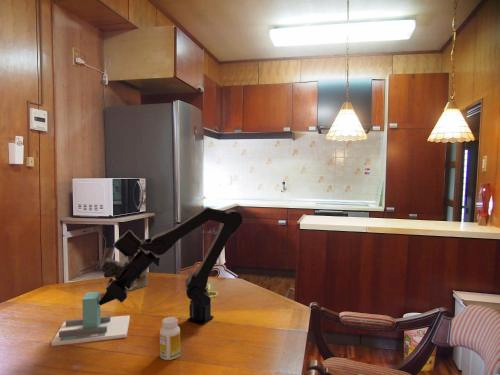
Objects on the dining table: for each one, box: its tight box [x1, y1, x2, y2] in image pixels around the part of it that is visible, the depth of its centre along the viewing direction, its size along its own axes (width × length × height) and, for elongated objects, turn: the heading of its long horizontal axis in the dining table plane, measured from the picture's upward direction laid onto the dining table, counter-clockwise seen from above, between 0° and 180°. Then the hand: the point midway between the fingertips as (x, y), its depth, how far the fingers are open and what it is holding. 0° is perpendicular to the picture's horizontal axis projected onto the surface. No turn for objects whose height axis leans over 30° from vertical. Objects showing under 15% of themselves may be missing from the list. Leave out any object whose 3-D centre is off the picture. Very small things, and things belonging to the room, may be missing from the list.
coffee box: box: [121, 250, 149, 291], centre depth 148 cm, size 9×6×16 cm
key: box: [206, 283, 219, 299], centre depth 141 cm, size 7×12×2 cm, turn 25°
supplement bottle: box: [159, 316, 181, 361], centre depth 93 cm, size 5×5×10 cm
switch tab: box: [82, 291, 102, 328], centre depth 106 cm, size 4×6×10 cm, turn 15°
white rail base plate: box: [51, 315, 131, 347], centre depth 107 cm, size 20×14×2 cm
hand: (99, 303), depth 107 cm, fingers closed, pressing on switch tab
